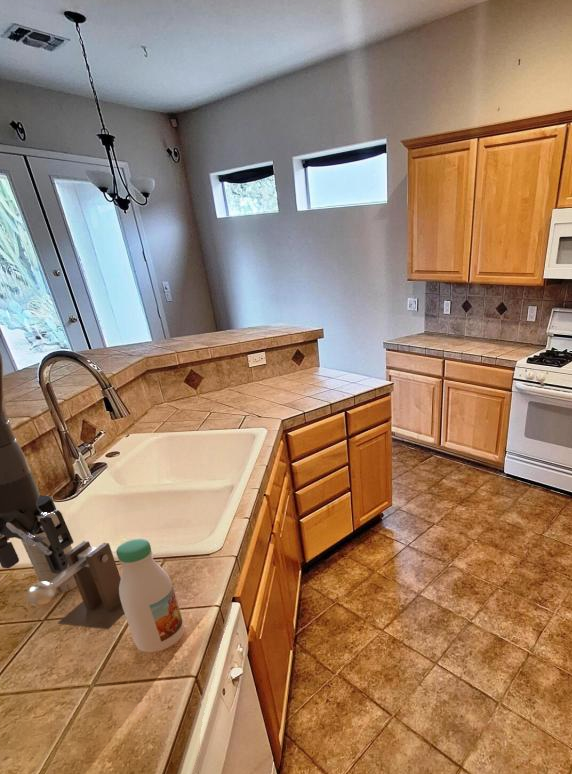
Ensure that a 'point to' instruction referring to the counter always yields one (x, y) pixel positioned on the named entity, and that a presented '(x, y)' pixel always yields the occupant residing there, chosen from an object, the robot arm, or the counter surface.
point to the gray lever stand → (95, 588)
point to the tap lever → (56, 580)
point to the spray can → (39, 557)
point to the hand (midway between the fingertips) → (35, 567)
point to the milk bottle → (148, 598)
